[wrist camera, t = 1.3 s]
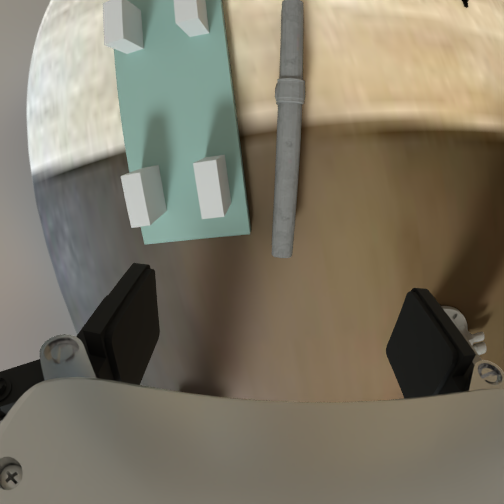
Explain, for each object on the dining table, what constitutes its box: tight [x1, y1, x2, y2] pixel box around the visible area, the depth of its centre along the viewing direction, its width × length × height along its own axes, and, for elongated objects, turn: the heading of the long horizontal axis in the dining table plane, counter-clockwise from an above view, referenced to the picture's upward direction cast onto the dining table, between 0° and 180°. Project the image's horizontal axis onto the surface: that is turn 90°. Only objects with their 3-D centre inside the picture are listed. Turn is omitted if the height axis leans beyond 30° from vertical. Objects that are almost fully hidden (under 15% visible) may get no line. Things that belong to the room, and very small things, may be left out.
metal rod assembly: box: [272, 0, 305, 258], centre depth 28 cm, size 26×3×5 cm, turn 178°
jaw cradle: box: [103, 0, 251, 244], centre depth 26 cm, size 12×30×6 cm, turn 7°
